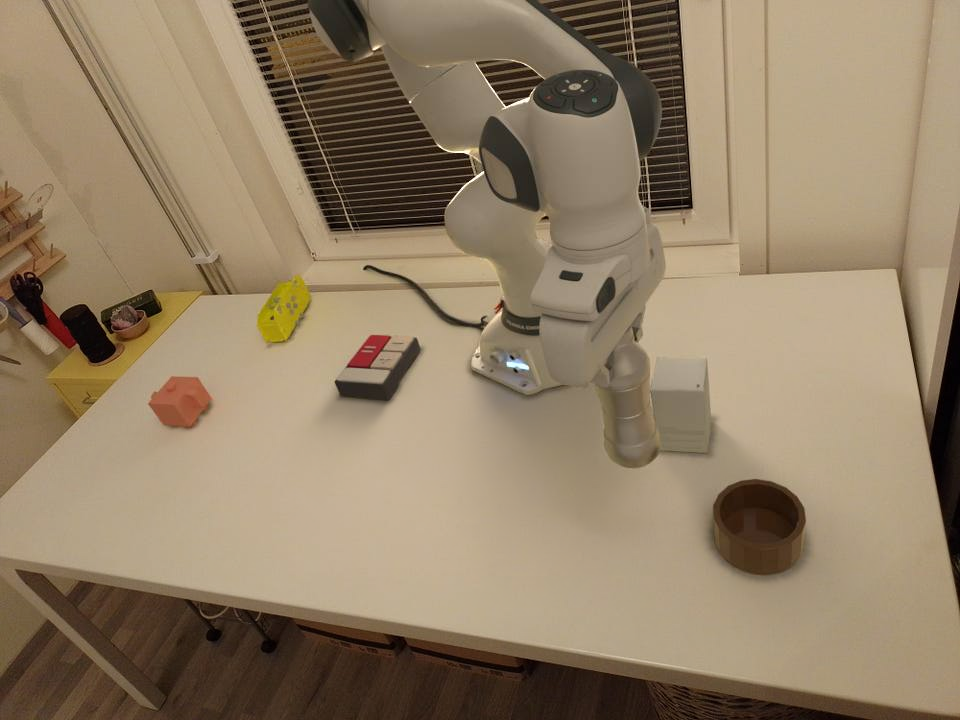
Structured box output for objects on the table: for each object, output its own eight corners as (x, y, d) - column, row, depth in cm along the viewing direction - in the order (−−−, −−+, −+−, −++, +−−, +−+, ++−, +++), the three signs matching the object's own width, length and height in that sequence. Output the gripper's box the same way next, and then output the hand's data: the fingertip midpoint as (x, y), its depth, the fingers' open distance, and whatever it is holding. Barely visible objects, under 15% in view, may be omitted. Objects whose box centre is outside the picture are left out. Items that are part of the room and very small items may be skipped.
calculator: (416, 333, 137) (382, 382, 127) (422, 351, 140) (389, 400, 129) (369, 332, 142) (331, 379, 131) (375, 349, 144) (339, 396, 134)
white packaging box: (712, 418, 108) (709, 356, 100) (708, 454, 102) (704, 392, 95) (662, 415, 110) (656, 354, 103) (656, 451, 105) (649, 389, 98)
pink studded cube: (176, 400, 146) (156, 371, 141) (222, 402, 142) (202, 372, 137) (154, 428, 141) (131, 398, 136) (200, 431, 136) (179, 400, 131)
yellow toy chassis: (289, 343, 153) (273, 313, 148) (266, 345, 154) (250, 315, 149) (314, 300, 164) (300, 270, 159) (293, 302, 166) (278, 273, 161)
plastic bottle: (662, 475, 81) (646, 344, 69) (604, 476, 84) (578, 348, 71) (663, 434, 86) (648, 304, 74) (607, 435, 88) (583, 309, 76)
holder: (702, 557, 90) (700, 531, 87) (730, 495, 96) (729, 469, 93) (789, 588, 84) (791, 561, 81) (813, 520, 90) (815, 493, 87)
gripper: (618, 195, 75) (632, 300, 83) (519, 308, 63) (547, 417, 71) (675, 199, 71) (684, 308, 79) (582, 319, 60) (604, 432, 68)
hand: (619, 361), depth 75 cm, fingers closed on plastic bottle, 6 cm apart
